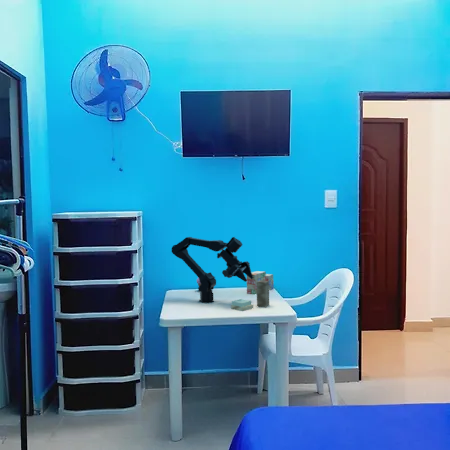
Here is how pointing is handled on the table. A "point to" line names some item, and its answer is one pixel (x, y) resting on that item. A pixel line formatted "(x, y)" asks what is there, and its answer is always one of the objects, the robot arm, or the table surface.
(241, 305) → the green slab
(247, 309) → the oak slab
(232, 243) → the robot arm
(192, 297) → the table surface
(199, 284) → the cupcake
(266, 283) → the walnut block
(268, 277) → the stack of blocks
